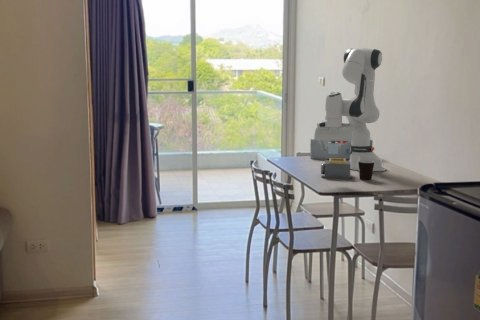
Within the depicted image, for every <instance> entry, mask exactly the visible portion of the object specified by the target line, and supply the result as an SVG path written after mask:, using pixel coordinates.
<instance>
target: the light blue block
mask: <svg viewBox="0 0 480 320" xmlns="http://www.w3.org/2000/svg"><path fill="white" fill-rule="evenodd" d="M328 146H329V147H328V154H338V142H335V141H331V142H329V143H328Z"/></svg>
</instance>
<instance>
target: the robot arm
mask: <svg viewBox="0 0 480 320" xmlns="http://www.w3.org/2000/svg"><path fill="white" fill-rule="evenodd" d="M382 61H383V53H382V52H381V50H379V49H375V48H374V49H373V48H365V47H364V48H348V49H347V50H345V52H344V54H343V67H342V77H343V78H344V80H345V81H347V82H348V83H350V84H352V85H354V91H353V92H354V95H355V97H351V98H349V97H343V96H342V93H341V92H337V91H334V92H333V91H332V92H329V93H327V95H326V96H325V97H326V98H325V118H324V120H321V121H317V123H316V128H315V130H314V136H313V137H314V139H315V140H316V141H324V144H325V146H326V149H328V147H329V146H328V145H326V141H340V143H341V144H340V145H339V146H338V149H341V145H342V144H343V141H351V145H350V159H348V161H350V164H351V165H350V170H354V171H357V172H359V164H358V161H360V160H370V161H374V167H373V172H384V171H386V170H387V168H386V166H384V165H383V161H382V159H381V157H380V156H379V155H377V154H376V153H375V152H374V150H375V147H374V146H373V145H372V146H370V137H371V131H370V130H369V128H368V127H367V124H372V123H376V122H377V121H379V118H380V110H379V108H378V107H377V105H376V102H375V96H374V91H375V80H376V70H377V69H378V68H379V67H380V66H381V65H382ZM343 117H345V118H346V119H347V121H348V123H343Z"/></svg>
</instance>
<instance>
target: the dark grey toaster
mask: <svg viewBox="0 0 480 320" xmlns="http://www.w3.org/2000/svg"><path fill="white" fill-rule="evenodd" d="M350 165H351V164H350V161H349V160H347V159H343V158H329V160H328V159H324V163H320V175H323V176H324V178H325V179H348V180H349V179H351V169H350Z"/></svg>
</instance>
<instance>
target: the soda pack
mask: <svg viewBox="0 0 480 320" xmlns="http://www.w3.org/2000/svg"><path fill="white" fill-rule="evenodd" d="M329 142H331V141H326V145H328V143H329ZM335 142H338V146H339V145H340V144H341V143H340V141H335ZM309 145H310V146H309V147H310V149H309V150H310V151H309V153H310V156H309V157H310V159H311V160H312V159H313V160H314V159H316V160H317V159H322V160H328V159H329V158H343V159H346V160H350V145H351V141H343V144H342V145H341V149H338V154H328V149H326V146H325V144H324V141H316V140H315V139H314V136H311V138H310V144H309ZM370 146H372V147H373V138H372V137H371V136H370Z"/></svg>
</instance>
